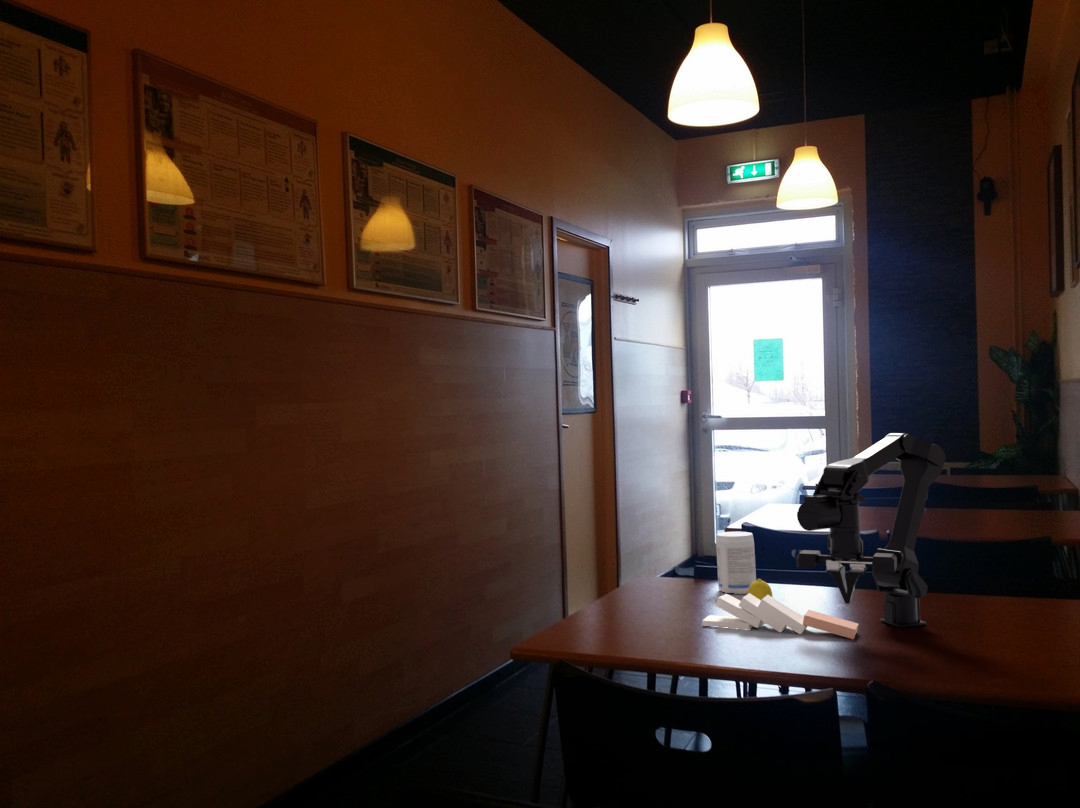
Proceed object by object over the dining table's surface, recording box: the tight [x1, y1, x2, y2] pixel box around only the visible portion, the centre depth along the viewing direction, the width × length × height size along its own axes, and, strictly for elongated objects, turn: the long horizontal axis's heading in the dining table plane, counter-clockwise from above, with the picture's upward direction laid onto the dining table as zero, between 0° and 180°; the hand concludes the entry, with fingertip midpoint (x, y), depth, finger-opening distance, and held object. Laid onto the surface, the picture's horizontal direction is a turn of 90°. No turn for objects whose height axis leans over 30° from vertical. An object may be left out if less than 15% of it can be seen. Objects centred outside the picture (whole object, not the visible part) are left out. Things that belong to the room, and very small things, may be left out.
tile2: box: [758, 595, 808, 635], centre depth 179 cm, size 2×5×10 cm
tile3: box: [739, 593, 788, 633], centre depth 181 cm, size 2×5×10 cm
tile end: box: [702, 614, 753, 631], centre depth 185 cm, size 2×5×10 cm
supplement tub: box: [715, 531, 757, 595], centre depth 219 cm, size 10×10×15 cm
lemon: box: [746, 578, 774, 600], centre depth 194 cm, size 6×6×8 cm
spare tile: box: [803, 609, 859, 640], centre depth 175 cm, size 2×5×10 cm
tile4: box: [714, 593, 766, 629], centre depth 184 cm, size 2×5×10 cm
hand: (847, 603), depth 174 cm, fingers closed
